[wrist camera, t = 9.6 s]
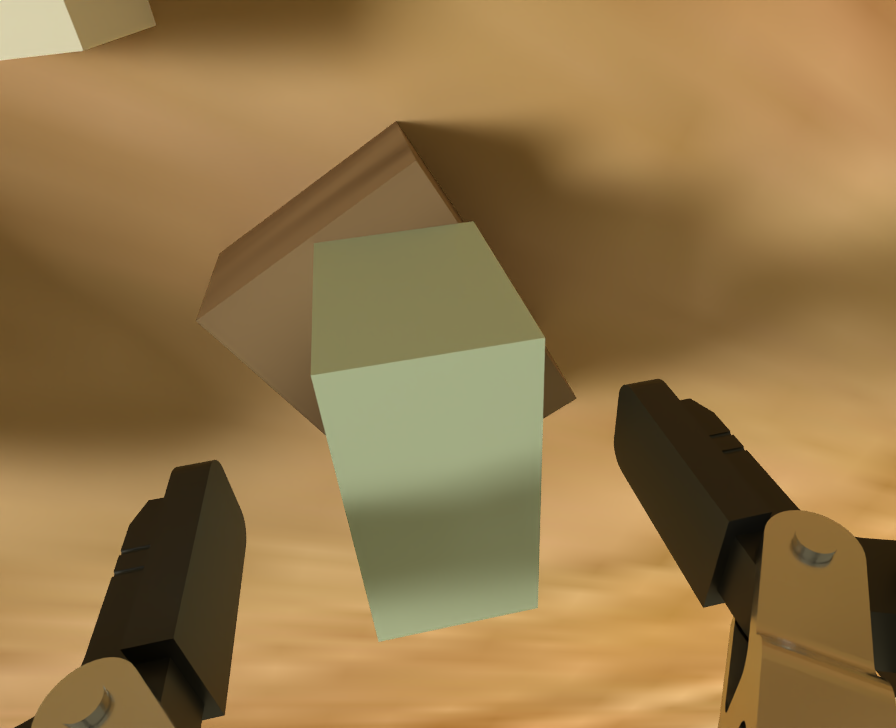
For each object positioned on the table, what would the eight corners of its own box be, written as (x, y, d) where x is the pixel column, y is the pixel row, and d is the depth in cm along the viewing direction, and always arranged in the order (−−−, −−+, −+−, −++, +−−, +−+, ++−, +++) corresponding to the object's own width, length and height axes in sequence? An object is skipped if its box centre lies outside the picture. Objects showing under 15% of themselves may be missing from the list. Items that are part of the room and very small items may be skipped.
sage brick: (313, 243, 12) (310, 375, 8) (473, 221, 13) (545, 337, 9) (364, 475, 16) (378, 641, 12) (485, 453, 17) (537, 607, 13)
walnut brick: (220, 250, 16) (196, 321, 13) (395, 119, 15) (415, 160, 12) (389, 418, 21) (402, 503, 17) (533, 326, 20) (576, 398, 16)
